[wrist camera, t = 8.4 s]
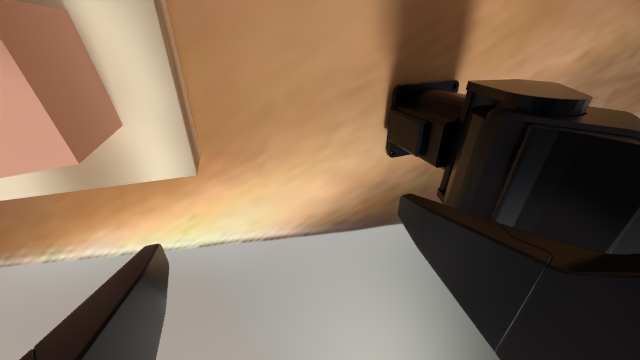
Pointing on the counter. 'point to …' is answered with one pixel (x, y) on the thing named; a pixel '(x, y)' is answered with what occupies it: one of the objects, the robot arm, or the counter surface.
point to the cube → (47, 92)
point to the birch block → (126, 101)
